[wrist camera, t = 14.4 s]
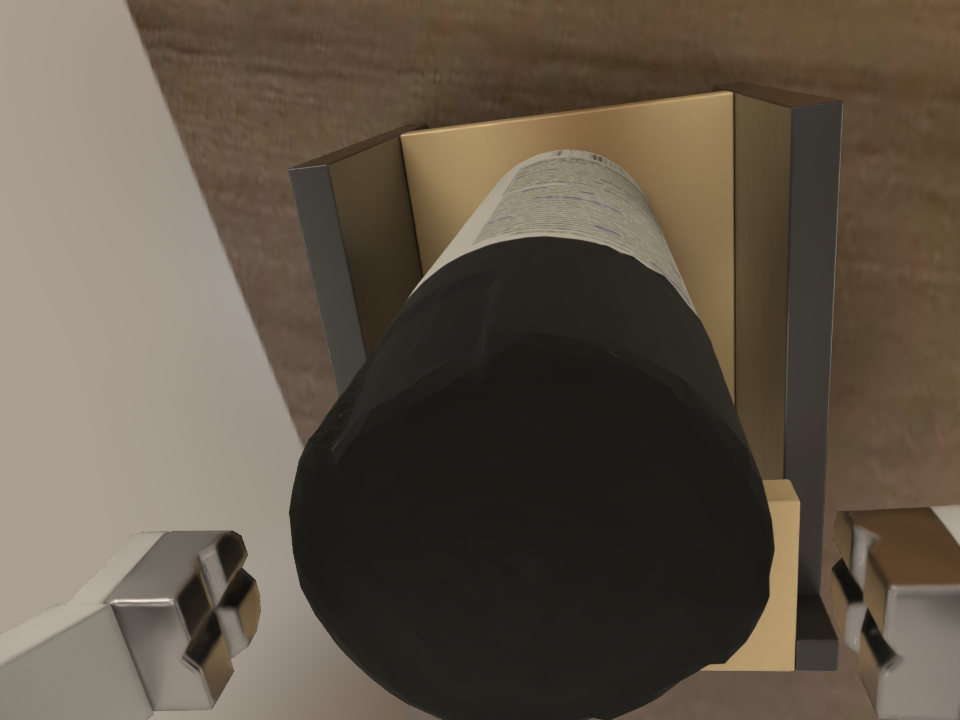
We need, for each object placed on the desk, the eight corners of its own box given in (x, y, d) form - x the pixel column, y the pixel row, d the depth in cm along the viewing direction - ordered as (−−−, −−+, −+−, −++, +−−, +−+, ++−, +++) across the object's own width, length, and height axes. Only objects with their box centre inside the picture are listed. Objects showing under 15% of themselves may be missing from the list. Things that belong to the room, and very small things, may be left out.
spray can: (445, 211, 28) (171, 498, 10) (596, 105, 26) (606, 223, 8) (540, 347, 30) (457, 813, 11) (691, 259, 28) (885, 660, 9)
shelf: (453, 447, 38) (373, 669, 24) (400, 127, 32) (256, 180, 18) (743, 433, 35) (838, 672, 22) (743, 82, 29) (873, 105, 16)
